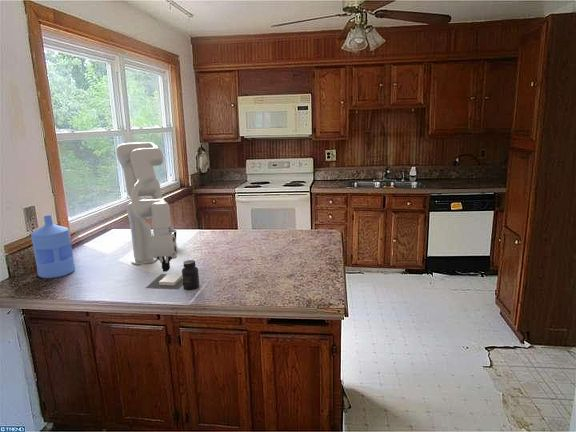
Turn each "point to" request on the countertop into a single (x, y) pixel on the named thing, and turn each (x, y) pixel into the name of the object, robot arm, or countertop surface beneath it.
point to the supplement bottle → (190, 275)
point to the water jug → (52, 250)
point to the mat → (156, 285)
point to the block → (171, 279)
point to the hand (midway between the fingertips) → (166, 270)
